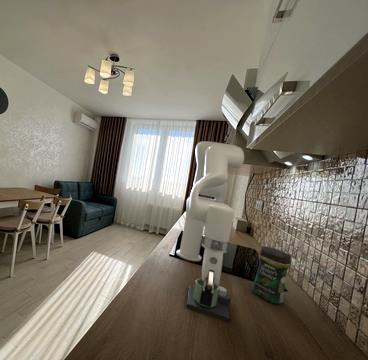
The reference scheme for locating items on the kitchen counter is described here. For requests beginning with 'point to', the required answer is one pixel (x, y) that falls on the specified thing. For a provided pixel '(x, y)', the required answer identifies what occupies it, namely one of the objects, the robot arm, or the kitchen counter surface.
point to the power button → (222, 291)
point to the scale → (216, 311)
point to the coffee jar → (271, 274)
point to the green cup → (199, 288)
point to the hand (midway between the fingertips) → (204, 298)
